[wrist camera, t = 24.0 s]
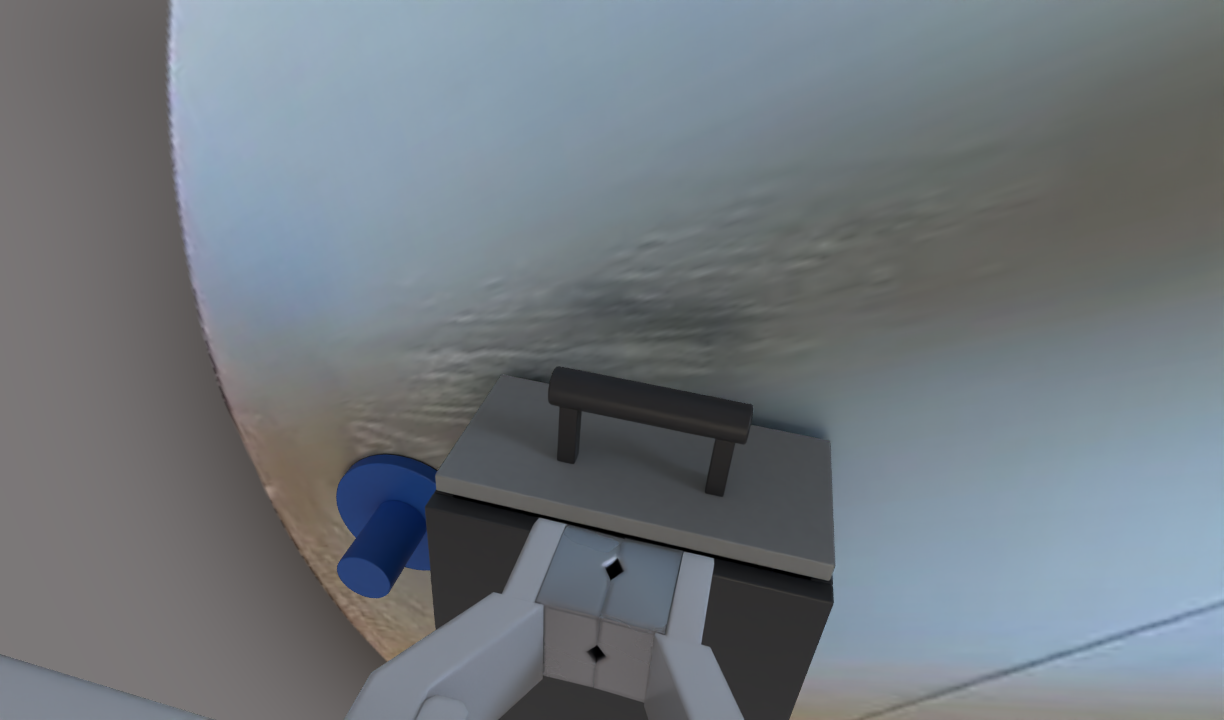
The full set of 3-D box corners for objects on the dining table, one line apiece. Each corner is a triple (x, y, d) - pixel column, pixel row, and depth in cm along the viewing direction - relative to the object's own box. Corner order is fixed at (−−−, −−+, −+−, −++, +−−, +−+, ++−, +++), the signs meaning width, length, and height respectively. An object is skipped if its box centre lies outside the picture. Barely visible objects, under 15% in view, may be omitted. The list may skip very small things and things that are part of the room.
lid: (473, 471, 36) (432, 541, 32) (477, 573, 40) (441, 646, 36) (334, 440, 37) (278, 504, 33) (352, 542, 41) (304, 610, 37)
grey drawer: (501, 293, 29) (427, 386, 24) (856, 359, 27) (868, 478, 22) (503, 613, 41) (453, 729, 35) (754, 677, 38) (745, 811, 33)
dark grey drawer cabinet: (501, 385, 33) (423, 506, 26) (828, 452, 30) (834, 603, 24) (503, 617, 42) (445, 751, 35) (755, 682, 39) (744, 837, 33)
